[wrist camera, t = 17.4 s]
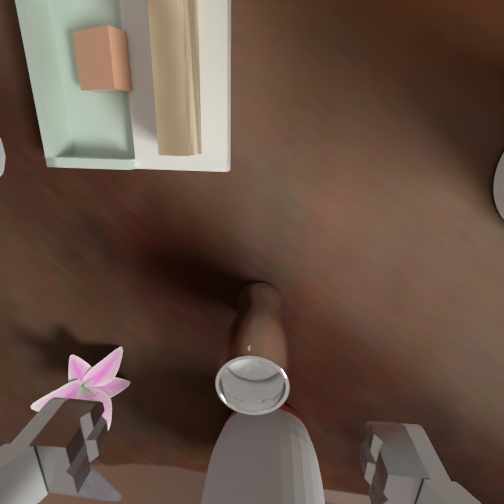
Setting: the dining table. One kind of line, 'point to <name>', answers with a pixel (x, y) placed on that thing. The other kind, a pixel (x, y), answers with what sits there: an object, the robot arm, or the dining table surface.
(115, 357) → the lily
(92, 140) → the box
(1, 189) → the dining table surface
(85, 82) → the terracotta tile
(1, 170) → the french press
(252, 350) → the beer glass
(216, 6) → the plate
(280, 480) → the citrus juicer
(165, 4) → the bar
